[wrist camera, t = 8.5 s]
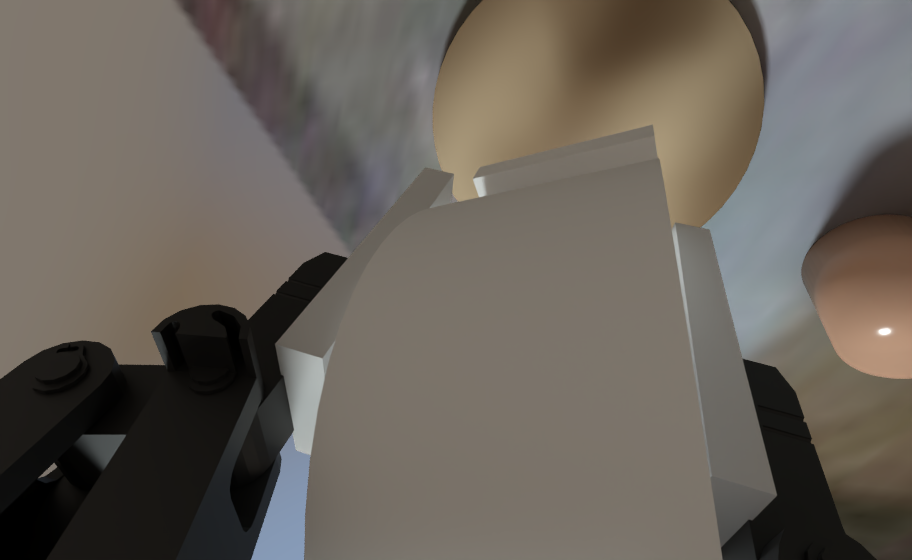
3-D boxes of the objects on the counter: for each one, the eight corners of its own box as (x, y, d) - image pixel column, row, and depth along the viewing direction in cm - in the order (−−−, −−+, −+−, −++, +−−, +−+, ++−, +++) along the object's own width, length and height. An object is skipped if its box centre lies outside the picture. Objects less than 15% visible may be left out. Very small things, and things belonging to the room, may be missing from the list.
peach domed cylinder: (974, 229, 17) (1050, 296, 14) (894, 320, 20) (942, 392, 17) (839, 202, 18) (882, 260, 15) (780, 293, 21) (805, 357, 17)
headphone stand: (525, 306, 16) (386, 841, 7) (467, 131, 13) (69, 636, 4) (677, 289, 14) (789, 1009, 5) (649, 80, 11) (790, 856, 2)
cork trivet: (835, -27, 14) (844, -25, 14) (681, 286, 22) (682, 297, 21) (451, -76, 16) (444, -76, 16) (430, 225, 24) (424, 233, 23)
